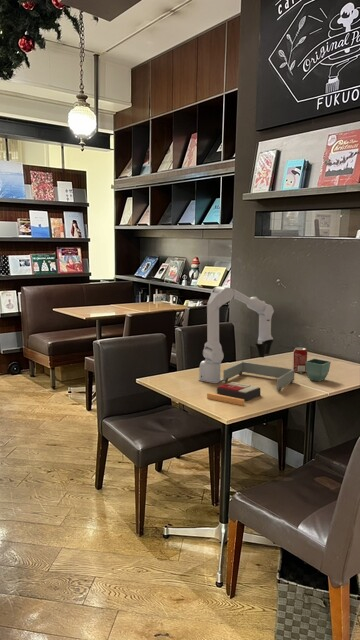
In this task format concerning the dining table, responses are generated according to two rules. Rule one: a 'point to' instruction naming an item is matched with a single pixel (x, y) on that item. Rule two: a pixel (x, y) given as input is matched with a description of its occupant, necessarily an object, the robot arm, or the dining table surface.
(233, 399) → the bar
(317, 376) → the flower pot
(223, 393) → the calculator
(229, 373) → the grey u-shaped barrier
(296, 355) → the soda can
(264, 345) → the robot arm
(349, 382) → the dining table surface
